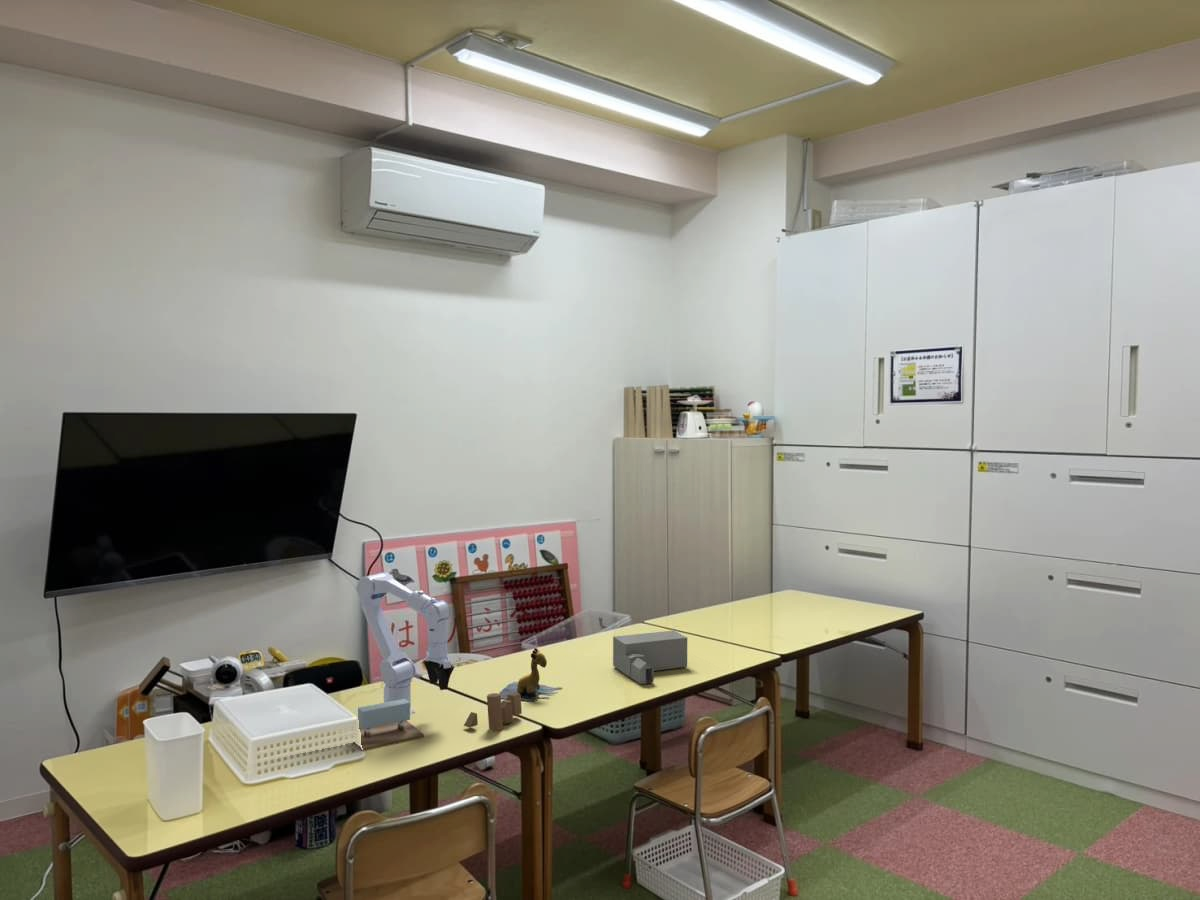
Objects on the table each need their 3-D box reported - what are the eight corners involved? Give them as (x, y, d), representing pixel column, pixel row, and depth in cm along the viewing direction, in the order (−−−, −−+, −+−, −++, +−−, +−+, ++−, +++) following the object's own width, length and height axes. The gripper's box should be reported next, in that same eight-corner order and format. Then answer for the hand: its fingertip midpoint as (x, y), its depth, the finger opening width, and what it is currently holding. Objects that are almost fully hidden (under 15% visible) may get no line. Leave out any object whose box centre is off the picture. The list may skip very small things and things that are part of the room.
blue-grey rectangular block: (405, 715, 256) (404, 698, 256) (410, 719, 253) (409, 702, 253) (358, 724, 249) (357, 707, 248) (362, 729, 245) (362, 711, 245)
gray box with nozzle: (639, 684, 300) (639, 653, 300) (613, 665, 322) (613, 636, 322) (703, 676, 310) (703, 645, 309) (673, 658, 331) (673, 630, 331)
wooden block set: (512, 716, 269) (510, 682, 269) (530, 721, 262) (528, 687, 262) (463, 731, 256) (461, 696, 256) (480, 737, 250) (478, 701, 250)
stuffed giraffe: (545, 705, 279) (545, 656, 278) (494, 699, 284) (494, 651, 284) (562, 690, 294) (562, 643, 294) (513, 684, 300) (513, 639, 299)
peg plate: (345, 734, 252) (345, 720, 252) (404, 722, 262) (404, 708, 262) (362, 751, 240) (361, 736, 240) (423, 738, 250) (423, 724, 250)
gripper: (416, 638, 267) (417, 682, 268) (434, 649, 255) (435, 694, 256) (437, 635, 271) (438, 678, 272) (456, 645, 259) (457, 690, 260)
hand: (438, 686), depth 264 cm, fingers open, 7 cm apart
